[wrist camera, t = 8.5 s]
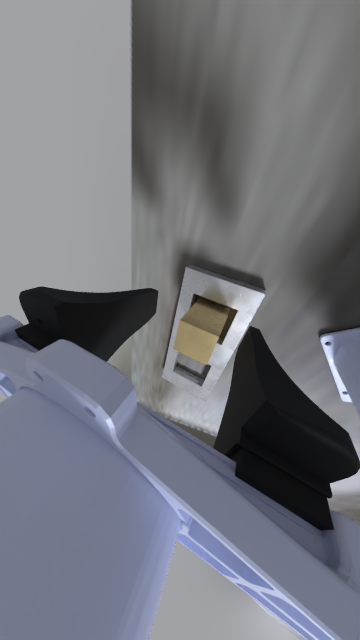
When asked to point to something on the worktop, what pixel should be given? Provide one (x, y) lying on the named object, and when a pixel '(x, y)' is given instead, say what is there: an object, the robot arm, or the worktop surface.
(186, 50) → the worktop surface
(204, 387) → the silver plate with holes
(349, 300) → the worktop surface
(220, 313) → the brass peg
